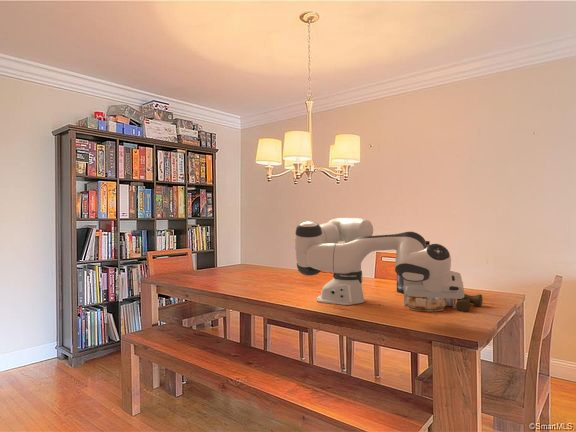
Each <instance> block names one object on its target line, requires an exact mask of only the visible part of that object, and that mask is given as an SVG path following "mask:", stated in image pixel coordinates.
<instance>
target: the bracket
mask: <svg viewBox="0 0 576 432" xmlns="http://www.w3.org/2000/svg"><path fill="white" fill-rule="evenodd" d="M406 298H407V295H406V285H405V280H404V293H403V306H407V303H406ZM456 303H457V299H456V298H446V306H449V307H451V306H452V309H457V308H456ZM446 306H445V307H446Z"/></svg>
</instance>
